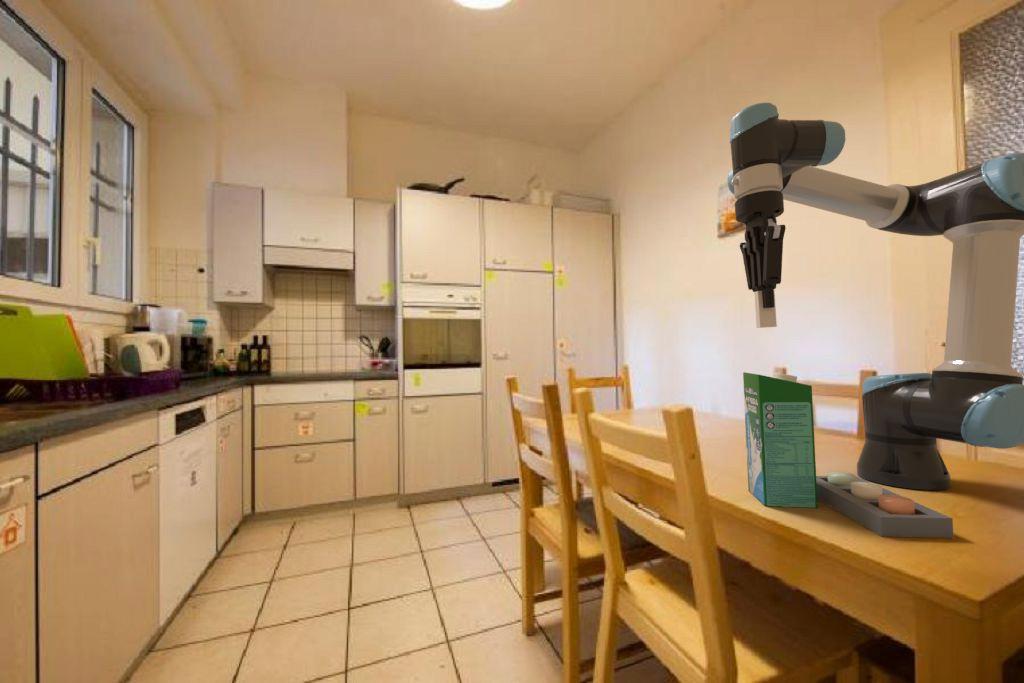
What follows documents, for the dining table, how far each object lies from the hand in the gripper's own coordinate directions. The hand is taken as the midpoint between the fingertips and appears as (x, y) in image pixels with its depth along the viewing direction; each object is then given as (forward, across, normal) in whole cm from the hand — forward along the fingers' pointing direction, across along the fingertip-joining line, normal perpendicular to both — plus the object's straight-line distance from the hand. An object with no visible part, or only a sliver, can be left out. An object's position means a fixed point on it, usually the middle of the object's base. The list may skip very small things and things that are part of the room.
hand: (766, 327), depth 76 cm
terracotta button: (+32, +3, +17) cm, 37 cm away
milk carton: (+34, -10, +5) cm, 36 cm away
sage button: (+33, -11, +17) cm, 38 cm away
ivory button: (+32, -4, +17) cm, 37 cm away
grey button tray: (+34, -4, +17) cm, 38 cm away
